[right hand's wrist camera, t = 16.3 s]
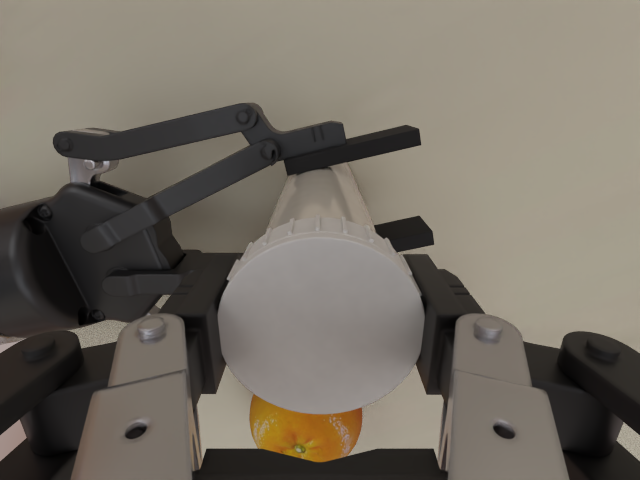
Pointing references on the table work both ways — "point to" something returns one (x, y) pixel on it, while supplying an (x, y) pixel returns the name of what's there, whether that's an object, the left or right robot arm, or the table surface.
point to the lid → (321, 316)
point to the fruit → (304, 431)
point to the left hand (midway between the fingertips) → (419, 184)
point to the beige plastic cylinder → (321, 197)
